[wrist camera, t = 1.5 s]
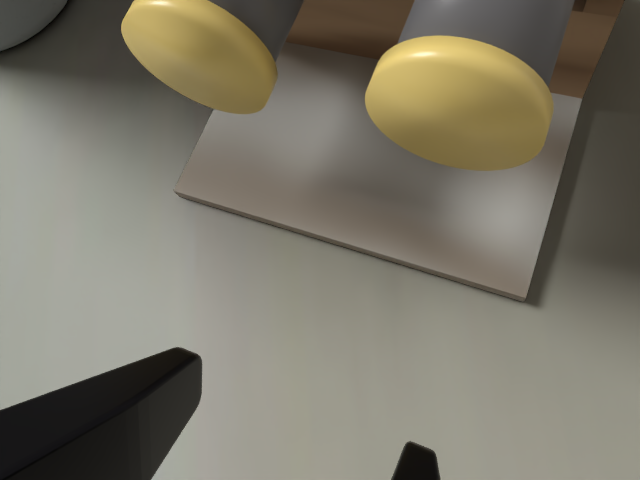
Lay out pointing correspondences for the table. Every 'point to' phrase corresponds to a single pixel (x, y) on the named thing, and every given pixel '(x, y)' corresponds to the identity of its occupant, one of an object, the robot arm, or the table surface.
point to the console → (387, 155)
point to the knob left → (212, 47)
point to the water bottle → (25, 19)
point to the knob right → (471, 81)
